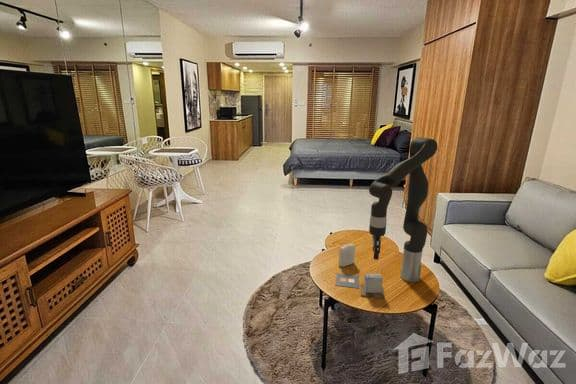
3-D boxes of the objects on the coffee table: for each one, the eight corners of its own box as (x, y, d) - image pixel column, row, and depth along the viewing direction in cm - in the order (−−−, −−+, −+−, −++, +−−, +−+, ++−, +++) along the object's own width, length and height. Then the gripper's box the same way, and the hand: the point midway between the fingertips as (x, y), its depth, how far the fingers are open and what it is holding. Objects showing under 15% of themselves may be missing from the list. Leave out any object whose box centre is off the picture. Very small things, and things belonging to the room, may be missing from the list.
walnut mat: (382, 288, 159) (382, 287, 159) (384, 298, 150) (384, 297, 150) (360, 285, 161) (360, 284, 161) (361, 296, 153) (361, 294, 152)
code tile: (358, 275, 170) (358, 275, 170) (358, 288, 159) (358, 288, 159) (336, 273, 173) (336, 273, 173) (335, 285, 161) (335, 285, 161)
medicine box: (379, 288, 157) (380, 273, 155) (381, 293, 153) (382, 278, 151) (363, 288, 158) (364, 273, 155) (365, 293, 153) (366, 278, 151)
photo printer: (350, 259, 187) (351, 241, 184) (355, 262, 184) (356, 243, 180) (337, 264, 182) (338, 245, 178) (342, 267, 178) (343, 248, 175)
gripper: (387, 230, 139) (384, 262, 143) (384, 219, 152) (382, 249, 157) (370, 229, 140) (368, 261, 145) (369, 218, 154) (366, 247, 158)
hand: (375, 254), depth 151 cm, fingers open, 8 cm apart
